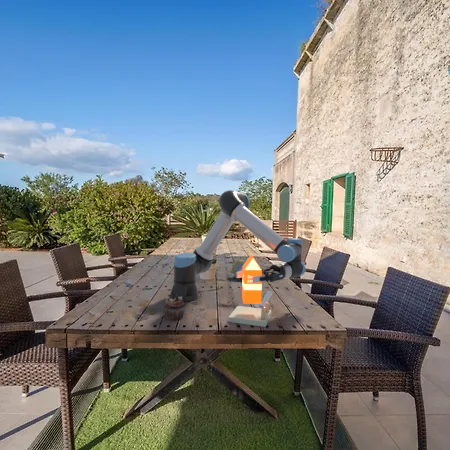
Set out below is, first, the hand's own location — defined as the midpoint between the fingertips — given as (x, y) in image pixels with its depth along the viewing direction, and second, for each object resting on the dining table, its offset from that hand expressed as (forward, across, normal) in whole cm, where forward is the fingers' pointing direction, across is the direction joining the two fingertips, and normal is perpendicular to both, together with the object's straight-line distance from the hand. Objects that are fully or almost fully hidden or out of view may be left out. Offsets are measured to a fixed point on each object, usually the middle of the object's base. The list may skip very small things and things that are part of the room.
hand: (244, 277), depth 127 cm
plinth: (-4, 0, -19) cm, 19 cm away
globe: (-52, +64, -19) cm, 84 cm away
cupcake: (+24, +20, -19) cm, 36 cm away
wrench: (-30, +16, -19) cm, 39 cm away
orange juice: (-4, 0, -11) cm, 12 cm away
